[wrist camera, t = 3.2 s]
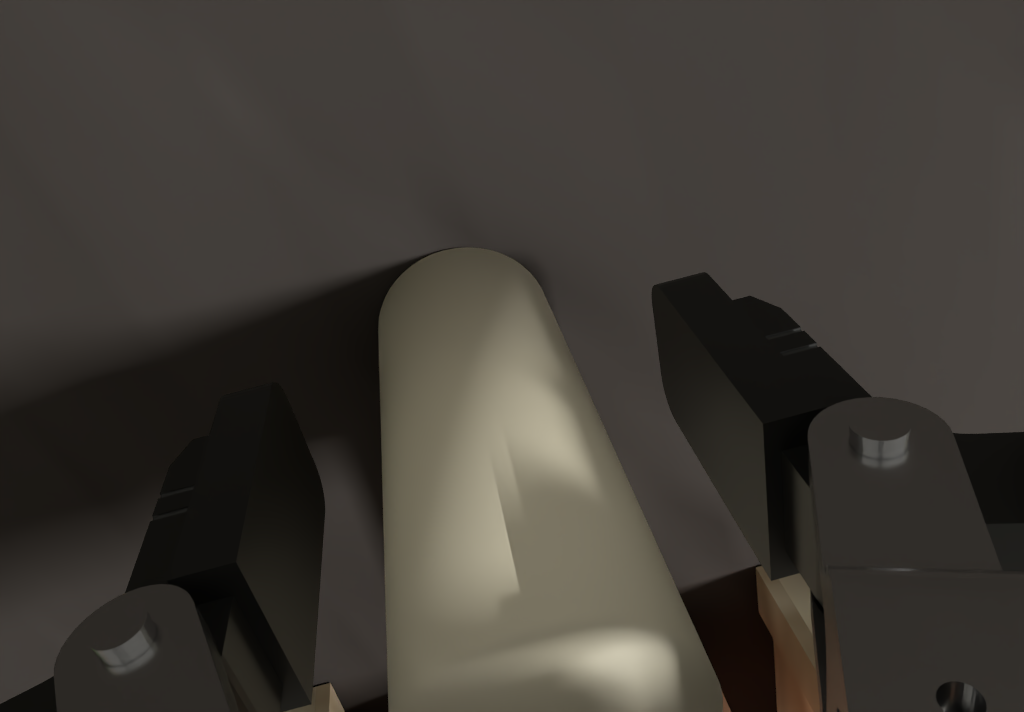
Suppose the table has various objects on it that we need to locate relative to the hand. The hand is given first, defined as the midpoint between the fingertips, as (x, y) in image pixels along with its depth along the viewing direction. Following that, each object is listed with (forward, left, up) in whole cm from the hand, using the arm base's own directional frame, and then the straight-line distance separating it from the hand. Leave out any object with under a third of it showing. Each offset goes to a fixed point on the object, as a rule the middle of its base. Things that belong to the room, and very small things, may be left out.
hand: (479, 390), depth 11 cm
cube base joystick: (+6, 0, -2) cm, 7 cm away
